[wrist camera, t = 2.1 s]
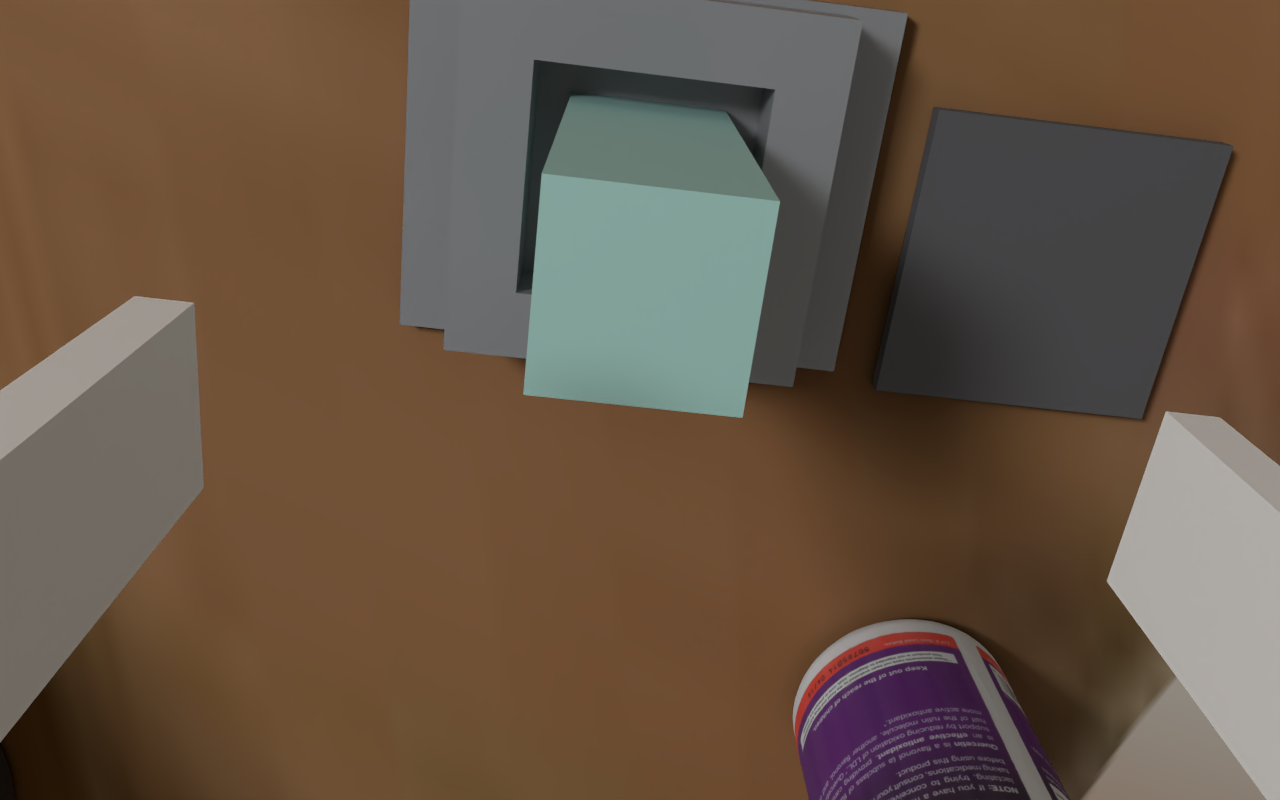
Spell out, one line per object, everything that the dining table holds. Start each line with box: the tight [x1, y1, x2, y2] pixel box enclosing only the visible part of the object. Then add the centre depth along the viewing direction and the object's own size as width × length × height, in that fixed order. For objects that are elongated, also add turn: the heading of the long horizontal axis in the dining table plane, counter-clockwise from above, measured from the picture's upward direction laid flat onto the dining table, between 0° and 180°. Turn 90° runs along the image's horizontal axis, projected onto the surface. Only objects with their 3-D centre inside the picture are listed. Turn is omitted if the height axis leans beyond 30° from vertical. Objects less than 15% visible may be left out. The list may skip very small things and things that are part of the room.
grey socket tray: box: [400, 0, 908, 387], centre depth 31 cm, size 14×11×3 cm
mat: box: [872, 107, 1234, 419], centre depth 33 cm, size 9×9×1 cm
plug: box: [523, 91, 780, 418], centre depth 26 cm, size 4×4×12 cm
